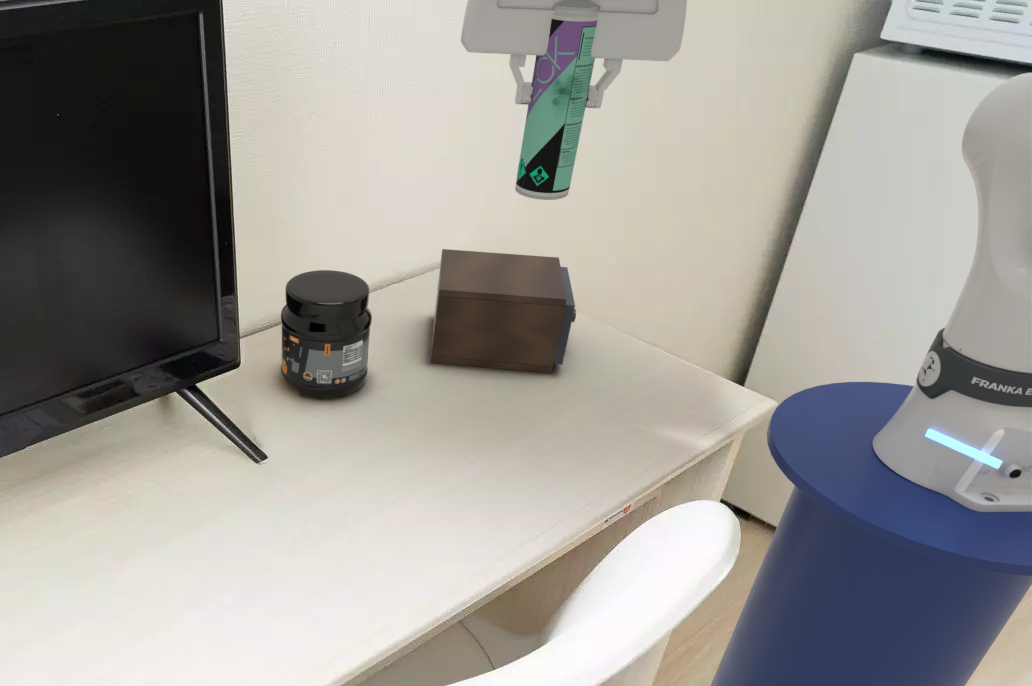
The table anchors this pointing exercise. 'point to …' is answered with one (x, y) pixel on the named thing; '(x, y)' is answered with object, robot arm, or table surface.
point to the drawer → (565, 318)
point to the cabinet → (498, 310)
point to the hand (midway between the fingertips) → (556, 105)
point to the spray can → (558, 102)
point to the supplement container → (325, 333)
